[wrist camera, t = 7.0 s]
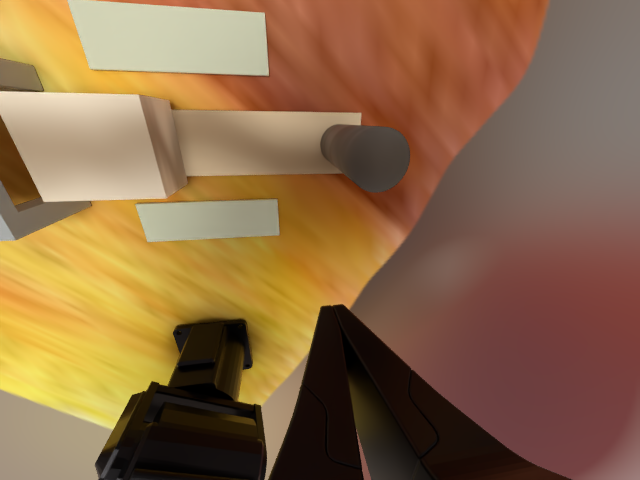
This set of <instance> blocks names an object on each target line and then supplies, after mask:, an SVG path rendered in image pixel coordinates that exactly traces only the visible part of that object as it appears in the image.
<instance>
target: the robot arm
mask: <svg viewBox="0 0 640 480" xmlns="http://www.w3.org/2000/svg"><path fill="white" fill-rule="evenodd" d="M240 325H243V326H240ZM179 331H181V332H179ZM173 335H174V337H175V340H176V343H177V346H178V349H179V352H180V356H179V359H178V361H177V364H176V367H175V369H174V371H173V374H172V376H171V379H170V381H169V383H168V386H164V385H160V384H159V383H158V382H153V381H151V383H150V385H149V387H148V389H147V390H146V392H145V391H143V392H141V393H137V394H134V395H132V396H131V398H130V400H129V402H128V404H127V406H126V407H125V409H124V411H123V413H122V415H121V417H120V419H119V420H118V422H117V424H116V426H115V428H114V430H113V431H112V433H111V435H110V437H109V439H108V441H107V443H106V444H105V446H104V448H103V450H102V452H101V454H100V456H99V457H98V460H97V461H96V463H95V467H96V470H97V474H98V477H99V479H98V480H264V479H265V473H266V465H267V451H266V443H265V436H264V427H263V420H262V412H261V405H257V404H254V405H251V404H247V403H242V402H238V397H239V390H240V384H241V377H242V370H244V369H250V368H251V367H252V364H253V360H252V354H251V348H250V342H249V336H248V329H247V323H246V322H245V321H244V320H234V321H224V322H213V323H203V324H193V325H182V326H177V327H175V329H174V331H173ZM356 429H357V432H358V435H359V439H360V443H361V445H362V449H363V453H364V456H365V459H366V463H367V466H368V470H369V473H370V476H371V480H572V479H569V478H567V477H564V476H562V475H559V474H557V473H554V472H551V471H549V470H547V469H544V468H542V467H539V466H537V465H535V464H533V463H531V462H529V461H527V460H526V459H524V458H522V457H521V456H519V455H517V454H516V453H514V452H513V451H511V450H510V449H509V448H507V447H506V446H505V445H503V444H502V443H501V442H499V441H498V440H497V439H495V438H494V437H493V436H491V435H490V434H489V433H488V432H486V431H485V430H484V429H483V428H482V427H480V426H479V425H478V424H476V423H475V422H474V421H473V420H471V419H470V418H469V417H468V416H466V415H465V414H464V413H463V412H461V411H460V410H459V409H458V408H456V407H455V406H454V405H453V404H451V403H450V402H449V401H448V400H447V399H445V398H444V397H443V396H442V395H441V394H439V393H438V392H437V391H436V390H434V389H433V388H432V387H431V386H430V385H429V384H428V383H427V382H426V381H425V380H424V379H422V378H421V377H420V376H419V375H418V374H417V373H416V372H415V371H414V370H411V368H410V367H409V366H408V365H407V364H406V363H405V362H404V361H403V360H402V359H401V358H400V357H399V356H398V355H396V353H394V352H393V351H392V350H391V349H390V348H389V347H388V346H387V345H386V344H385V343H384V342H383V341H382V340H381V339H380V338H378V337H377V336H376V335H375V334H374V333H373V332H372V331H371V330H370V329H369V328H368V327H367V326H366V325H365V324H364V323H363V322H361V321H360V320H359V319H358V318H357V317H356V316H355V315H354V314H353V313H352V312H351V311H350V310H349V309H348V308H347V307H346V306H344V305H343V304H339V305H333V306H331V305H329V306H322V307H321V308H320V312H319V316H318V320H317V324H316V328H315V332H314V336H313V340H312V344H311V348H310V352H309V356H308V360H307V364H306V368H305V372H304V376H303V380H302V385H301V387H300V391H299V395H298V399H297V402H296V406H295V409H294V413H293V416H292V418H291V421H290V424H289V427H288V430H287V433H286V435H285V438H284V441H283V444H282V446H281V448H280V451H279V453H278V456H277V458H276V461H275V464H274V466H273V469H272V471H271V474H270V476H269V479H268V480H364V478H363V472H362V465H361V459H360V452H359V445H358V439H357V432H356Z"/></svg>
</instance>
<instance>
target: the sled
mask: <svg viewBox="0 0 640 480" xmlns="http://www.w3.org/2000/svg"><path fill="white" fill-rule="evenodd" d="M0 115H1V117H2V119H3V121H4V123H5V125H6V127H7V129H8V131H9V133H10V135H11V137H12V139H13V141H14V143H15V145H16V147H17V149H18V151H19V153H20V155H21V157H22V159H23V161H24V163H25V165H26V167H27V169H28V171H29V173H30V175H31V177H32V179H33V181H34V183H35V185H36V187H37V189H38V191H39V193H40V195H41V197H42V199H43V201H44V202H58V201H92V200H126V199H160V198H168V197H169V196H171V195H172V194H174V193H175V192H176V191H178V190H179V189H181V188H182V187H184V186H185V185H187V184H188V181H187V177H186V176H226V175H281V174H336V173H343V174H345V175H346V176H347V177H348V178H349V179H351V180H352V181H353V182H354V183H355V184H357V185H358V186H359V187H360V188H362V189H364V190H366V191H369V192H383V191H386V190H388V189H390V188H392V187H394V186H395V185H396V184H397V183H398V182H399V181H400V180H401V179H402V178H403V176H404V175H405V173H406V171H407V169H408V166H409V161H410V150H409V145H408V143H407V141H406V139H405V137H404V136H403V135H402V134H401V133H400V132H399V131H397V130H395V129H393V128H389V127H379V126H362V125H361V113H338V112H278V111H219V110H171V106H170V102H169V100H165V99H159V98H154V97H149V96H143V95H133V94H91V93H50V92H9V91H0Z"/></svg>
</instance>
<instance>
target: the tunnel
mask: <svg viewBox="0 0 640 480" xmlns="http://www.w3.org/2000/svg"><path fill="white" fill-rule="evenodd" d="M0 88H7V89H16V90H39V91H44V90H43V88H42V85H41V83H40V80H39V78H38V76H37V73H36V71H35V68H34V66H33V65H28V64H24V63H19V62H15V61H10V60H6V59H1V58H0ZM90 206H91V203H90V201H58V202H44V201H43V199H42V197H40V198H37V199H34V200H31V201H28V202H25V203H22V204H18V205H15V206H14V204H13V202H12V200H11V199H10V197H9V195H8V193H7V191H6V190H5V188H4V186H3V184H2V182H1V181H0V241H11V240H18V239H20V238H22V237H24V236H26V235H29V234H31V233H33V232H35V231H37V230H40V229H42V228H44V227H46V226H48V225H51V224H53V223H55V222H57V221H59V220H62V219H64V218H66V217H68V216H70V215H73V214H75V213H77V212H79V211H81V210H84V209H86V208H88V207H90Z"/></svg>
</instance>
